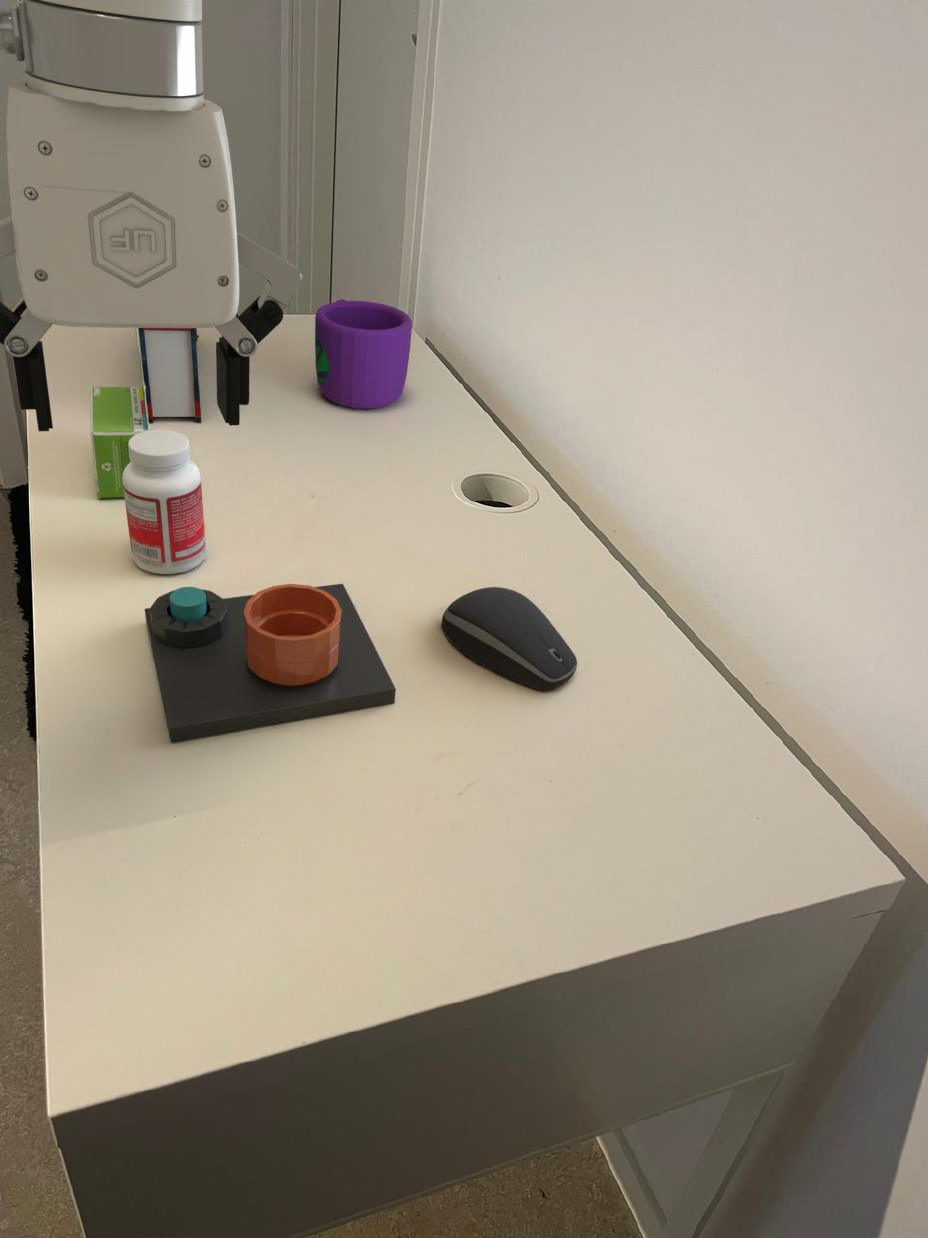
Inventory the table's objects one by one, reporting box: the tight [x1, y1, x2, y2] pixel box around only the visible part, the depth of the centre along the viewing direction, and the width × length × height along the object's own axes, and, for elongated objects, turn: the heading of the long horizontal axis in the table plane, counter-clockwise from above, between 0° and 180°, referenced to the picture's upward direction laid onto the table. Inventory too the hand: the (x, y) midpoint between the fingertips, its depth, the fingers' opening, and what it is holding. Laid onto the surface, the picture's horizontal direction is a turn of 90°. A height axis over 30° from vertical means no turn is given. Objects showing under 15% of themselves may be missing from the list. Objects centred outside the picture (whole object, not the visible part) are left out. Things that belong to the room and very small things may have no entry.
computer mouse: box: [441, 586, 578, 691], centre depth 73 cm, size 7×12×4 cm, turn 49°
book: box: [138, 328, 202, 424], centre depth 102 cm, size 25×7×25 cm, turn 15°
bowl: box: [244, 583, 342, 686], centre depth 66 cm, size 7×7×5 cm
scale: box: [144, 583, 397, 744], centre depth 68 cm, size 16×14×3 cm
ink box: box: [89, 328, 150, 500], centre depth 85 cm, size 10×5×14 cm, turn 18°
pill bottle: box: [122, 429, 207, 575], centre depth 75 cm, size 6×6×11 cm
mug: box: [314, 298, 413, 410], centre depth 111 cm, size 17×11×10 cm, turn 24°
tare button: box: [170, 586, 207, 622], centre depth 68 cm, size 3×3×2 cm
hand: (139, 417), depth 50 cm, fingers open, 9 cm apart
